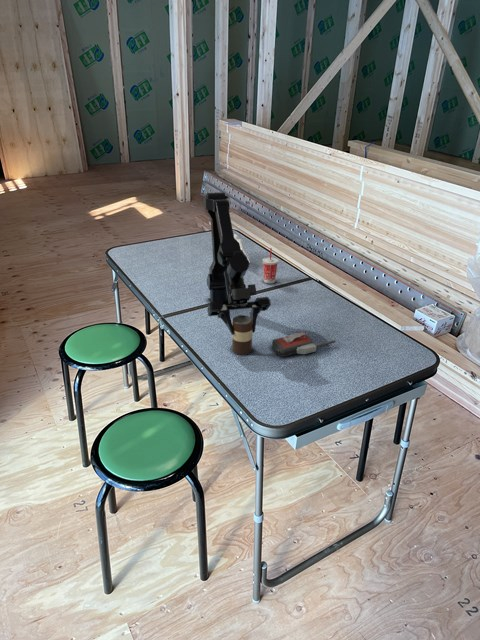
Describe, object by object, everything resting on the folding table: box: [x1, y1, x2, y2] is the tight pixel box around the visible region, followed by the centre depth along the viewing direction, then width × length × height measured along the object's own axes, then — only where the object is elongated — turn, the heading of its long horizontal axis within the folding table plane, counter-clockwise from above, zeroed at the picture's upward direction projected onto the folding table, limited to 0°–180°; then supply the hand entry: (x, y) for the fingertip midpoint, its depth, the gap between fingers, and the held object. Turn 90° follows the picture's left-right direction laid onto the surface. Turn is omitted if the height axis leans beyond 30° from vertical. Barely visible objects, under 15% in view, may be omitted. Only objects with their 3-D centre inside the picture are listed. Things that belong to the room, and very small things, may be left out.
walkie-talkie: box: [271, 331, 336, 357], centre depth 151 cm, size 9×4×20 cm
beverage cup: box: [262, 247, 279, 284], centre depth 193 cm, size 6×6×14 cm
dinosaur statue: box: [234, 233, 251, 263], centre depth 212 cm, size 7×24×11 cm, turn 25°
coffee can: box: [231, 314, 253, 356], centre depth 148 cm, size 6×6×11 cm
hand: (243, 333), depth 146 cm, fingers closed on coffee can, 6 cm apart
